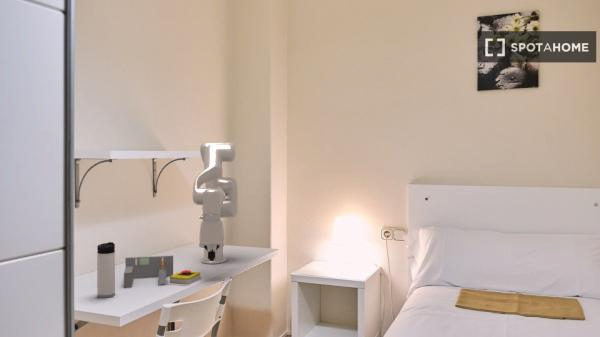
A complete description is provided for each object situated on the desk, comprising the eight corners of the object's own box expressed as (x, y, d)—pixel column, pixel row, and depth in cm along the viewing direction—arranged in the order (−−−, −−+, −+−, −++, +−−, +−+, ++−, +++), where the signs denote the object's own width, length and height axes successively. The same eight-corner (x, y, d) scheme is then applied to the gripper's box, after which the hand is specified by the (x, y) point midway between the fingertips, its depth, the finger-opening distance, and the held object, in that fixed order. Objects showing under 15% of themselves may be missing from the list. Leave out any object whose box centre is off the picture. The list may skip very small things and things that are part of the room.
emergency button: (203, 268, 217) (185, 276, 202) (203, 278, 217) (185, 287, 203) (184, 267, 220) (165, 275, 205) (184, 276, 220) (165, 285, 205)
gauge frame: (125, 278, 214) (125, 257, 214) (173, 275, 220) (173, 255, 219) (122, 287, 199) (122, 265, 199) (173, 284, 205) (173, 263, 204)
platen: (159, 277, 214) (159, 260, 214) (166, 277, 215) (166, 260, 215) (158, 284, 204) (158, 266, 203) (166, 284, 204) (166, 265, 204)
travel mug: (118, 293, 191) (118, 242, 190) (108, 298, 185) (108, 245, 184) (104, 292, 192) (104, 241, 192) (93, 297, 186) (93, 244, 185)
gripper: (194, 219, 207) (194, 263, 208) (230, 218, 211) (229, 261, 211) (193, 217, 215) (193, 259, 215) (228, 216, 219) (227, 258, 219)
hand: (211, 260), depth 213 cm, fingers closed
